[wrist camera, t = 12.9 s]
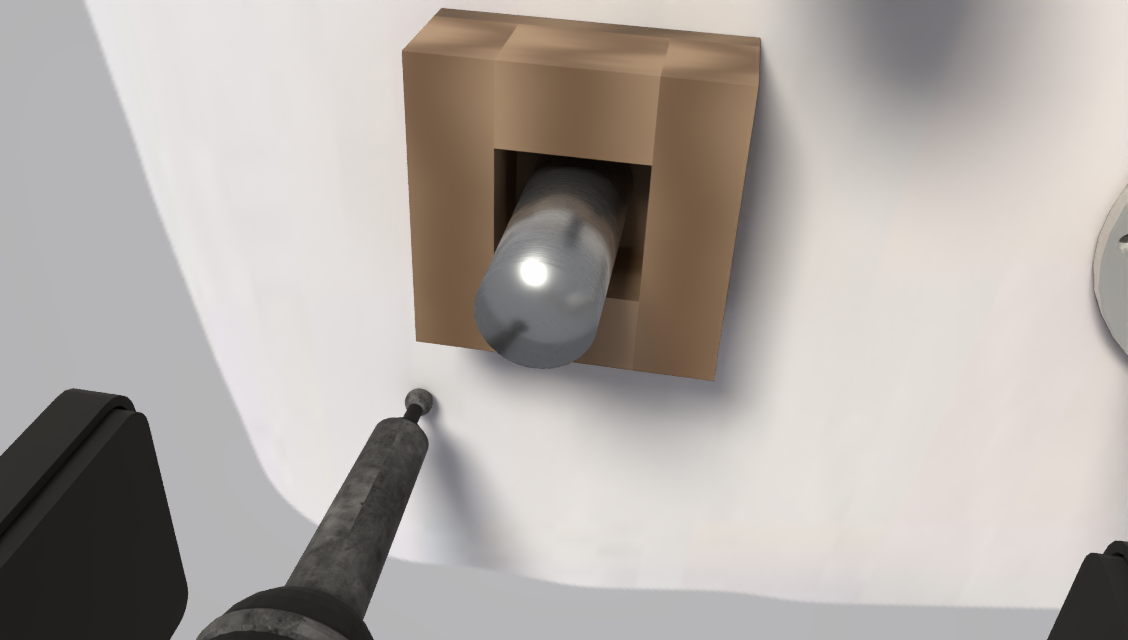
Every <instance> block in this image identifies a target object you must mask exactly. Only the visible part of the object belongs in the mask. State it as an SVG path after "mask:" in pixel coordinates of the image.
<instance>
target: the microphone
mask: <svg viewBox="0 0 1128 640" xmlns="http://www.w3.org/2000/svg"><path fill="white" fill-rule="evenodd" d="M432 404H433V400H432V397H431V395H430V393H429V392H427V391H426V390H424V389H414V390H412V391H410V392H409V393H408V395H407V396H406V399H405V406H406V409H407V411H406V413H405V415H404V417H399V418H388V419H384V420H382V421H381V422H379V423H378V424H377V426H376V427H375V429H374V431H373V432H372V434H371V436H370V438H369V439H368V441H367V443H366V445H365V446H364V448H363V450H362V452H361V453H360V455H359V457H358V459H357V460H356V462H355V464H354V466H353V467H352V469H351V471H350V473H349V474H348V476H347V478H346V480H345V481H344V483H343V485H342V487H341V488H340V490H339V492H338V494H337V495H336V497H335V499H334V501H333V502H332V504H331V506H330V508H329V509H328V511H327V513H326V515H325V516H324V518H323V520H322V522H321V523H320V525H319V527H318V529H317V530H316V532H315V534H314V536H313V537H312V539H311V541H310V543H309V544H308V546H307V548H306V550H305V552H304V553H303V555H302V557H301V558H300V560H299V562H298V564H297V566H296V567H295V569H294V571H293V572H292V574H291V576H290V578H289V579H288V581H287V583H286V585H285V586H284V587H278V588H274V589H269V590H266V591H261V592H258V593H256V594H254V595H252V596H249V597H247V598H246V599H244V600H242V601H240V602H238V603H236V604H235V605H233V606H232V607H231V608H230V609H229V610H228V611H227V612H226V613H224V614H223V615H222V616H220V617H218V618H217V619H215V620H214V621H213V622H211V623H210V624H209V625H208V626H207V627H206V628H205V629H204V630H203V631H202V632H201V633H200V634H199V636H198V637H197V639H196V640H374V639H373V637H372V636H371V633H370V631H369V630H368V628H367V626H366V624H365V623H364V621H363V618H364V616H365V613H366V611H367V608H368V605H369V603H370V600H371V598H372V595H373V592H374V590H375V587H376V584H377V582H378V579H379V576H380V574H381V571H382V569H383V566H384V563H385V561H386V558H387V555H388V553H389V550H390V548H391V545H392V542H393V540H394V537H395V534H396V532H397V529H398V527H399V524H400V521H401V519H402V516H403V513H404V511H405V508H406V506H407V503H408V500H409V498H410V495H411V492H412V490H413V487H414V485H415V482H416V479H417V477H418V474H419V471H420V469H421V466H422V463H423V461H424V458H425V456H426V453H427V450H428V445H429V444H428V439H427V436H426V434H425V433H424V431H423V430H422V429H421V428H420V427H419V425H418V424H417V423H418V421H419V418H420V416H422V415H425V414H427V413H428V412H429V411H430V409H431V408H432Z"/></svg>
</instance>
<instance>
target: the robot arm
mask: <svg viewBox="0 0 1128 640" xmlns="http://www.w3.org/2000/svg"><path fill="white" fill-rule="evenodd" d="M1127 234H1128V185H1127V186H1126V188H1125V189H1124V191H1123V192H1122V194H1121V195H1120V197H1119V198H1118V200H1117V201H1116V202H1115V204H1114V205H1113V207H1112V208H1111V210H1110V212H1109V215H1108V217H1107V219H1106V222H1105V224H1104V226H1103V228H1102V231H1101V233H1100V235H1099V238H1098V243H1097V248H1096V253H1095V258H1094V263H1093V270H1094V291H1095V294H1096V298H1097V301H1098V304H1099V308H1100V311H1101V314H1102V316H1103V318H1104V320H1105V322H1106V324H1107V326H1108V328H1109V330H1110V332H1111V334H1112V336H1113V337H1114V339H1115V340H1116V341H1117V342H1118V344H1119V345H1120V346H1121V347H1122V349H1123V350H1124V351H1125V352H1126V354H1127V355H1128V235H1127ZM1125 235H1127V236H1126V237H1123V236H1125ZM1121 237H1122V238H1121ZM187 599H188V587H187V582H186V578H185V574H184V570H183V566H182V561H181V557H180V553H179V548H178V544H177V540H176V536H175V532H174V528H173V524H172V519H171V515H170V511H169V507H168V502H167V498H166V494H165V491H164V486H163V482H162V477H161V473H160V469H159V465H158V461H157V456H156V452H155V448H154V444H153V440H152V436H151V431H150V427H149V423H148V421H147V418H146V416H145V415H144V414H143V413H140V412H136V410H135V408H134V405H133V403H132V402H131V400H130V399H129V398H128V397H125V396H121V395H115V394H108V393H102V392H95V391H88V390H81V389H74V388H73V389H69V390H66V391H64V392H63V393H62V394H60V395H59V396H58V397H57V398H56V399H55V400H54V401H53V402H52V403H51V404H50V405H49V406H48V407H47V408H46V409H45V410H44V411H43V412H42V413H41V414H40V416H39V417H38V418H37V419H36V420H35V421H34V422H33V423H32V424H31V425H30V426H29V427H28V428H27V429H26V430H25V431H24V432H23V433H22V434H21V435H20V436H19V437H18V438H17V440H15V442H14V443H13V444H12V445H11V446H10V447H9V448H8V449H7V450H6V451H5V452H4V453H3V454H2V455H1V456H0V640H170V638H171V636H172V635H173V634H174V632H175V630H176V629H177V627H178V625H179V624H180V621H181V620H182V618H183V615H184V612H185V609H186V605H187ZM1047 640H1128V542H1125V541H1114V542H1112V543H1111V544H1110V545H1108V547H1107V549H1106V550H1105V552H1104V553H1103V554H1098V553H1090V554H1089V555H1087V556H1086V558H1085V559H1084V561H1083V563H1082V565H1081V567H1080V569H1079V571H1078V574H1077V576H1076V578H1075V580H1074V582H1073V584H1072V587H1071V589H1070V591H1069V593H1068V595H1067V598H1066V600H1065V602H1064V604H1063V606H1062V608H1061V611H1060V613H1059V615H1058V617H1057V619H1056V622H1055V624H1054V626H1053V629H1052V630H1051V632H1050V635H1049V637H1048V639H1047Z"/></svg>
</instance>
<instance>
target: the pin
mask: <svg viewBox="0 0 1128 640" xmlns="http://www.w3.org/2000/svg"><path fill="white" fill-rule="evenodd" d="M632 193H633V174H632V171H631V168H630V165H629V163H624V162H615V161H605V160H596V159H587V158H578V157H569V156H560V155H551V154H542V153H541V155H540V156H539V158H538V160H537V162H536V164H535V167H534V169H533V171H532V173H531V175H530V178H529V180H528V182H527V184H526V186H525V188H524V191H523V193H522V195H521V197H520V199H519V201H518V204H517V206H516V208H515V210H514V212H513V214H512V217H511V219H510V221H509V223H508V225H507V228H506V230H505V232H504V234H503V236H502V238H501V241H500V243H499V245H498V247H497V249H496V251H495V254H494V256H493V258H492V260H491V262H490V264H489V267H488V269H487V271H486V273H485V275H484V278H483V280H482V282H481V284H480V286H479V288H478V291H477V293H476V296H475V300H474V317H475V322H476V325H477V327H478V330H479V332H480V333H481V335H482V337H483V338H484V340H485V341H486V342H487V343H488V344H489V346H490V347H491V348H492V349H494V350H495V351H496V352H497V353H498V354H500V355H501V356H503V357H504V358H506V359H508V360H510V361H512V362H514V363H517V364H519V365H523V366H526V367H531V368H541V369H544V368H555V367H560V366H563V365H566V364H569V363H571V362H573V361H575V360H576V359H578V358H579V357H581V356H582V355H583V354H584V353H585V352H586V351H587V350H588V349H589V347H590V346H591V344H592V343H593V340H594V338H595V336H596V332H597V329H598V325H599V321H600V317H601V313H602V309H603V305H604V301H605V298H606V294H607V290H608V286H609V282H610V278H611V274H612V270H613V266H614V263H615V259H616V255H617V251H618V247H619V243H620V239H621V235H622V232H623V228H624V224H625V220H626V216H627V212H628V208H629V204H630V200H631V197H632Z"/></svg>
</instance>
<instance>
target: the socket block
mask: <svg viewBox="0 0 1128 640" xmlns="http://www.w3.org/2000/svg"><path fill="white" fill-rule="evenodd" d="M402 63H403V83H404V103H405V124H406V144H407V165H408V185H409V205H410V226H411V246H412V266H413V287H414V307H415V328H416V341H418V342H426V343H433V344H441V345H448V346H456V347H463V348H470V349H478V350H485V351H493V352H496V351H495V350H494V349H492V348H491V347H490V346H489V344H488V343H487V342H486V341H485V340H484V338H483V337H482V335H481V333H480V332H479V330H478V327H477V325H476V322H475V317H474V300H475V296H476V293H477V291H478V288H479V286H480V284H481V282H482V280H483V278H484V275H485V273H486V271H487V269H488V267H489V264H490V262H491V260H492V258H493V256H494V254H495V251H496V249H497V247H498V245H499V243H500V241H501V238H502V236H503V234H504V232H505V230H506V228H507V225H508V223H509V221H510V219H511V217H512V214H513V212H514V210H515V208H516V206H517V204H518V201H519V199H520V197H521V195H522V193H523V191H524V188H525V186H526V184H527V182H528V180H529V178H530V175H531V173H532V171H533V169H534V167H535V164H536V162H537V160H538V158H539V156H540V155H541V153H542V154H551V155H560V156H569V157H578V158H587V159H596V160H605V161H615V162H624V163H629V165H630V168H631V171H632V174H633V193H632V197H631V200H630V204H629V208H628V212H627V216H626V220H625V224H624V228H623V232H622V235H621V239H620V243H619V247H618V251H617V255H616V259H615V263H614V266H613V270H612V274H611V278H610V282H609V286H608V290H607V294H606V298H605V301H604V305H603V309H602V313H601V317H600V321H599V325H598V329H597V332H596V336H595V338H594V340H593V343H592V344H591V346H590V347H589V349H588V350H587V351H586V352H585V353H584V354H583V355H582V356H581V357H579V358H578V359H576V360H575V361H573V362H575V363H583V364H590V365H597V366H605V367H612V368H620V369H627V370H635V371H642V372H650V373H657V374H665V375H672V376H680V377H687V378H695V379H702V380H710V381H714V377H715V370H716V364H717V357H718V351H719V344H720V337H721V331H722V324H723V318H724V311H725V305H726V298H727V291H728V285H729V278H730V272H731V265H732V258H733V252H734V245H735V239H736V232H737V225H738V219H739V212H740V206H741V199H742V193H743V186H744V179H745V173H746V166H747V160H748V153H749V146H750V140H751V133H752V127H753V120H754V114H755V107H756V100H757V94H758V87H759V63H760V38H756V37H745V36H734V35H724V34H713V33H702V32H692V31H681V30H670V29H659V28H649V27H638V26H627V25H617V24H606V23H595V22H584V21H574V20H563V19H552V18H541V17H531V16H520V15H509V14H499V13H488V12H477V11H466V10H456V9H445V8H441V9H440V10H439V11H438V13H437V14H436V15H435V16H434V17H433V18H432V19H431V20H430V21H429V22H428V23H427V24H426V25H425V27H424V28H423V29H422V30H421V31H420V32H419V33H418V34H417V35H416V36H415V37H414V38H413V39H412V41H411V42H410V43H409V44H408V45H407V46H406V47H405V48H404V49H403V50H402Z"/></svg>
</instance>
